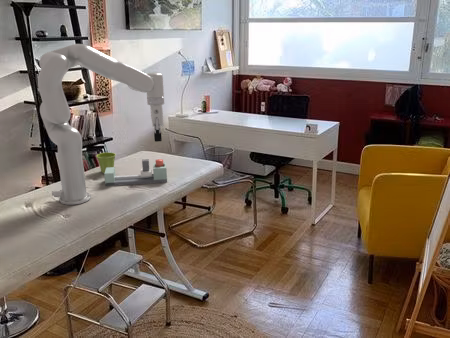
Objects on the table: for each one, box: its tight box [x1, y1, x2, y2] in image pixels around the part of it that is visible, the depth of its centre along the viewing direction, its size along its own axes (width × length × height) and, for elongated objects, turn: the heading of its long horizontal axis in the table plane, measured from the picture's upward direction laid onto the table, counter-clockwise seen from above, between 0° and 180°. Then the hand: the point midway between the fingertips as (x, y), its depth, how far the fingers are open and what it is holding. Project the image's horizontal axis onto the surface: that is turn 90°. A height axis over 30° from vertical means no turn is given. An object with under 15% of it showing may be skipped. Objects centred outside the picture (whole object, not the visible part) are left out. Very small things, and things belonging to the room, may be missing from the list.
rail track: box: [103, 161, 168, 187], centre depth 209 cm, size 28×9×7 cm, turn 99°
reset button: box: [154, 158, 164, 167], centre depth 209 cm, size 4×4×3 cm
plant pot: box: [95, 152, 117, 174], centre depth 222 cm, size 9×9×9 cm
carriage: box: [140, 158, 153, 177], centre depth 208 cm, size 5×6×7 cm
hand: (158, 140), depth 205 cm, fingers closed
